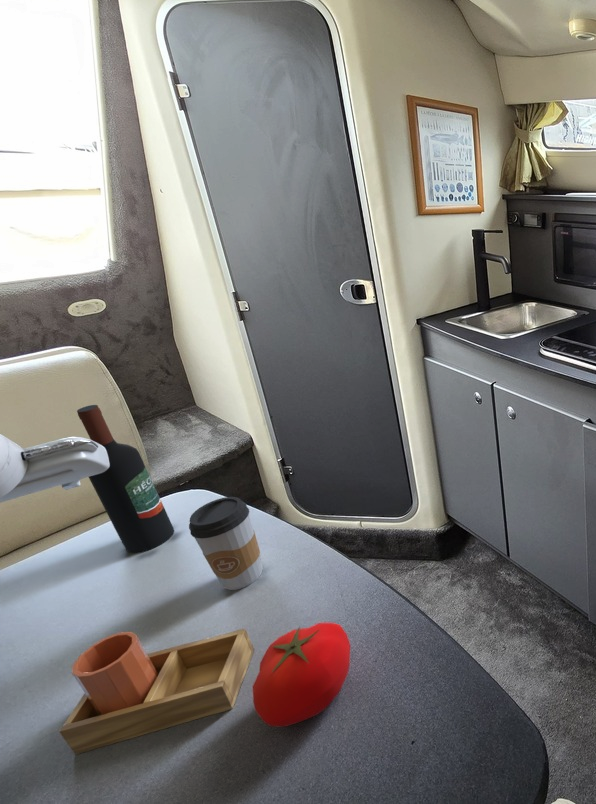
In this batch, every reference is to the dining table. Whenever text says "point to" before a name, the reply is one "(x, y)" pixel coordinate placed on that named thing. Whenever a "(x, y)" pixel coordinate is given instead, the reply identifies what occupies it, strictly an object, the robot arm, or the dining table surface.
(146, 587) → the dining table surface
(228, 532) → the coffee cup
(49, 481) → the robot arm
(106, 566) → the dining table surface
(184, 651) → the tray
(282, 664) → the tomato
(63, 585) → the dining table surface
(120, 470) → the wine bottle
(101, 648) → the tumbler
